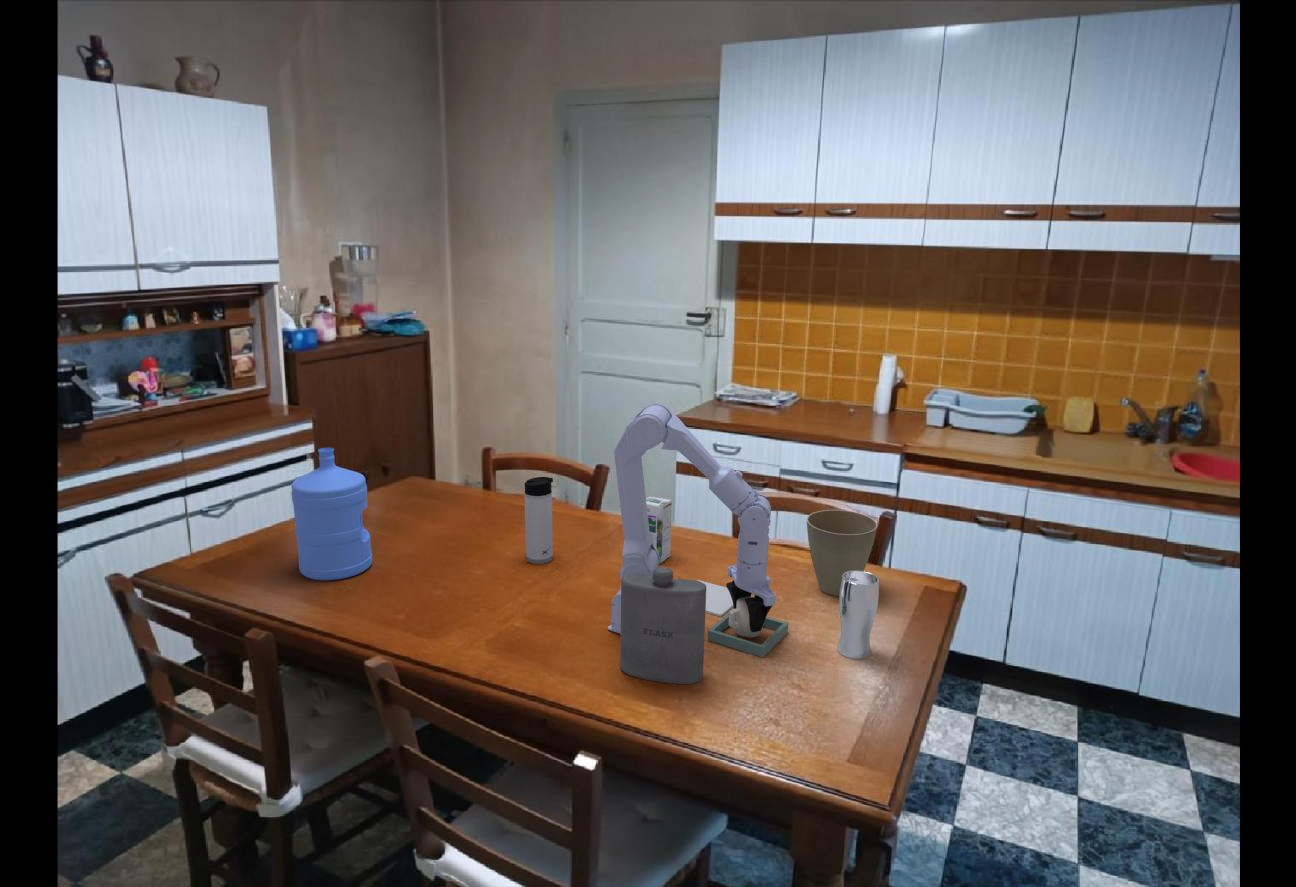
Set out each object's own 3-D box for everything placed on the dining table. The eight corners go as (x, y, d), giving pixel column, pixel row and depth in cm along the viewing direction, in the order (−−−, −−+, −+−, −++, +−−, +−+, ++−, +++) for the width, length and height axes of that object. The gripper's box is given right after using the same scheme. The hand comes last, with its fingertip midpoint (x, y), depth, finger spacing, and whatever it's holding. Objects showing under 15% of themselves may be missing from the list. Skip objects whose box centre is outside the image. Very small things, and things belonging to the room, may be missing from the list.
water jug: (324, 588, 172) (312, 463, 164) (285, 569, 181) (272, 450, 174) (386, 565, 184) (378, 448, 177) (347, 548, 193) (337, 436, 186)
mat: (720, 617, 162) (720, 614, 162) (670, 602, 168) (670, 599, 168) (746, 595, 172) (746, 593, 172) (697, 581, 178) (697, 579, 178)
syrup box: (638, 559, 190) (639, 501, 186) (650, 551, 195) (651, 494, 191) (659, 564, 187) (661, 506, 183) (671, 556, 192) (672, 498, 188)
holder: (763, 657, 147) (763, 647, 147) (707, 640, 153) (707, 630, 152) (787, 632, 157) (788, 622, 156) (734, 616, 163) (734, 607, 162)
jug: (752, 623, 158) (754, 595, 156) (766, 634, 153) (767, 606, 152) (723, 628, 155) (724, 600, 154) (735, 640, 151) (737, 611, 149)
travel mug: (552, 564, 186) (551, 482, 181) (524, 564, 186) (522, 482, 181) (555, 554, 192) (554, 474, 187) (528, 553, 192) (526, 474, 187)
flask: (615, 676, 140) (616, 571, 135) (624, 659, 146) (625, 557, 140) (699, 689, 137) (703, 581, 132) (705, 671, 142) (709, 567, 137)
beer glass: (845, 638, 155) (851, 566, 151) (879, 650, 150) (886, 576, 147) (828, 652, 149) (834, 578, 146) (863, 665, 145) (870, 589, 141)
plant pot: (815, 569, 186) (820, 505, 181) (878, 584, 178) (885, 517, 174) (791, 593, 173) (796, 524, 169) (859, 610, 166) (866, 539, 162)
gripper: (791, 570, 146) (786, 637, 149) (751, 542, 159) (747, 604, 162) (758, 576, 143) (754, 644, 147) (719, 547, 156) (716, 610, 159)
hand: (748, 624), depth 154 cm, fingers closed on jug, 5 cm apart
